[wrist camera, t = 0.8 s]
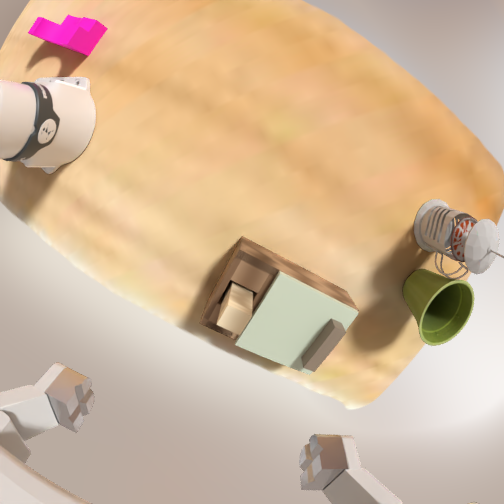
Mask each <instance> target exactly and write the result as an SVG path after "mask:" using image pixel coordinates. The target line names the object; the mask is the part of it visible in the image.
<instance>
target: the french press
mask: <svg viewBox="0 0 504 504" xmlns="http://www.w3.org/2000/svg"><path fill="white" fill-rule="evenodd" d="M454 217H455V219H456V226H455V224H454ZM458 219H459V220H460V221H459V222H458ZM414 235H415V238H416V241H417V243H418V245H419V246H420V247H421V248H422V249H423V250H425V251H428V252H434V251H436V255H435V265H436V268H437V270H438V271H439V272H440V273H442V274H443V275H445V276H446V277H447V278H448V279H452V280H455V279H459V278H461V277H463V276H464V275H465V274H466V273H468V269H469V270H470V271H471V272H472V273H475V274H480V273H483V272H484V271H486V270H487V269H488V268H489V267H490V266H491V264H492V263H493V261H494V259H495V257H496V255H499V256H501V257H503V258H504V256H502V255H500V254H498V253H497V251H498V246H499V234H498V229H497V227H496V225H495V223H494V222H492V221H491V220H489V219H482V220H480V221H478V222H477V220H476V219H474V218H473V217H471V216H470V215H469V214H466V213H463V212H460V211H457V210H454V209H450V208H449V206H448V205H447V203H446V202H444V201H442V200H440V199H432V200H430V201H428V202H426V203H425V204H423V206H422V207H421V208H420V210H419V211H418V213H417V216H416V219H415V222H414ZM449 246H451V248H449V249H445V248H448V247H449ZM449 250H452V251H450V252H447V251H449ZM437 253H440V254H441V255H442V257H441V263H440V264H441V270H442V271H441V270H439V269H438V266H437V264H436V258H437ZM451 253H452V254H451ZM443 254H444V255H446V256H448V257H449V258H451V259H453V260H455V261H460V262H458V263H459V264H460V265H461V267H460V268H459V269H458V270H457V271H455V272H453V273H451V274H445V273H444V271H443V269H442V260H443ZM461 262H465V263H466V265H467V267H468V268H467V267H465V266H464V265H463V264H462V263H461ZM462 267H464V268H465V269H467V271H466V272H465V273H464V274H463V275H462V276H459V277H457V278H450V277H449V276H447V275H453V274H455V273H457V272H458V271H459V270H461V269H462Z"/></svg>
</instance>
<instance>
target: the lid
mask: <svg viewBox="0 0 504 504" xmlns="http://www.w3.org/2000/svg"><path fill="white" fill-rule="evenodd" d="M358 314H359V313H358V311H357V310H356V309H354V308H352V307H350V306H348V305H346V304H344V303H342V302H340V301H338V300H336V299H334V298H332V297H330V296H328V295H326V294H324V293H322V292H320V291H318V290H316V289H314V288H313V287H311V286H309V285H307V284H305V283H303V282H301V281H299V280H297V279H295V278H293V277H291V276H289V275H287V274H285V273H283V272H281V271H279V272H278V274H277V276H276V277H275V279H274V281H273V282H272V284H271V286H270V287H269V289H268V290H267V292H266V294H265V295H264V297H263V299H262V300H261V302H260V303H259V305H258V307H257V308H256V310H255V311H254V313H253V315H252V317H251V319H250V320H249V322H248V323H247V325H246V327H245V328H244V330H243V331H242V333H241V334H240V335H239V337H238V338H237V340H236V341H235V345H236V346H239V347H241V348H243V349H245V350H248V351H250V352H253V353H255V354H257V355H260V356H262V357H265V358H267V359H270V360H272V361H275V362H277V363H280V364H282V365H285V366H287V367H290V368H293V369H295V370H298V371H301V372H303V373H306V374H309V375H310V374H311V373H312V372H315V370H316V369H317V368H318V367H319V366H320V364H321V363H322V362H323V361H324V360H325V358H326V357H327V356H328V355H329V354H330V352H331V351H332V350H333V349H334V347H335V346H336V345H337V344H338V342H339V341H340V340H341V339H342V337H343V336H344V335H345V333H346V330H347V328H348V327H349V326H350V324H351V323H352V322H353V320H354V319H355V318H356V316H357V315H358Z"/></svg>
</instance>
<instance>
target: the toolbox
mask: <svg viewBox="0 0 504 504" xmlns="http://www.w3.org/2000/svg"><path fill="white" fill-rule="evenodd" d="M279 271H281V272H283V273H285V274H287V275H289V276H291V277H293V278H295V279H297V280H299V281H301V282H303V283H305V284H307V285H309V286H311V287H313V288H314V289H316V290H318V291H320V292H322V293H324V294H326V295H328V296H330V297H332V298H334V299H336V300H338V301H340V302H342V303H344V304H346V305H348V306H350V307H352V308H354V309H356V310H357V311H359V310H358V308H357V307H356V305H355V304H354V302H353V300H352V299H351V297H350V296H349V294H348V293H347V291H345V290H343V289H342V288H340V287H338V286H336V285H334V284H332V283H330V282H328V281H327V280H325V279H323V278H321V277H319V276H317V275H315V274H313V273H311V272H310V271H308V270H306V269H304V268H302V267H300V266H298V265H296V264H294V263H293V262H291V261H289V260H287V259H285V258H283V257H281V256H279V255H277V254H275V253H273V252H272V251H270V250H268V249H266V248H264V247H262V246H260V245H258V244H256V243H254V242H252V241H251V240H249V239H247V238H245V237H243V236H242V238H241V240H240V241H239V243H238V245H237V247H236V249H235V251H234V252H233V254H232V256H231V258H230V260H229V262H228V264H227V266H226V267H225V269H224V271H223V273H222V275H221V277H220V279H219V280H218V282H217V284H216V286H215V288H214V290H213V292H212V294H211V296H210V297H209V299H208V301H207V304H206V307H205V309H204V312H203V315H202V318H201V321H200V324H202V325H204V326H206V327H208V328H210V329H213V330H215V331H217V332H219V333H221V334H223V335H226V336H228V337H230V338H232V339H234V340H237V338H238V337H239V335H238V334H236V333H233V332H231V331H229V330H227V329H225V328H223V327H220V326H218V325H217V321H218V317H219V313H220V309H221V305H222V301H223V297H224V293H225V289H226V287H227V285H228V283H229V282H230V280H232V281H234V282H236V283H238V284H240V285H242V286H244V287H246V288H248V289H250V290H252V291H253V304H252V315H253V313H254V311H255V310H256V308H257V307H258V305H259V303H260V302H261V300H262V299H263V297H264V295H265V294H266V292H267V290H268V289H269V287H270V286H271V284H272V282H273V281H274V279H275V277H276V276H277V274H278V272H279Z"/></svg>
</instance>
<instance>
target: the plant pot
mask: <svg viewBox="0 0 504 504" xmlns="http://www.w3.org/2000/svg"><path fill="white" fill-rule="evenodd" d="M403 297H404V299H405V301H406V303H407V304H408V306H409V308H410V310H411V312H412V313H413V315H414V317H415V319H416V321H417V324H418V327H419V334H420V337H421V339H422V340H423V342H425V343H426V344H428V345H432V346H436V345H440V344H444V343H446V342H448V341H449V340H451V339H452V338H454V337H455V336H456V335H457V334H458V333H459V332H460V331H461V330H462V329H463V327H464V326H465V325H466V323H467V321H468V319H469V317H470V315H471V313H472V310H473V305H474V292H473V289H472V287H471V286H470V284H469V283H468V282H466V281H464V280H452V279H448V278H446V277H444V276H441V275H439V274H436V273H434V272H431V271H429V270H426V269H419V270H416V271H414V272H413V273H412V274H411V276H410V277H409V278H407V280H406V281H405V284H404V286H403Z"/></svg>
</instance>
